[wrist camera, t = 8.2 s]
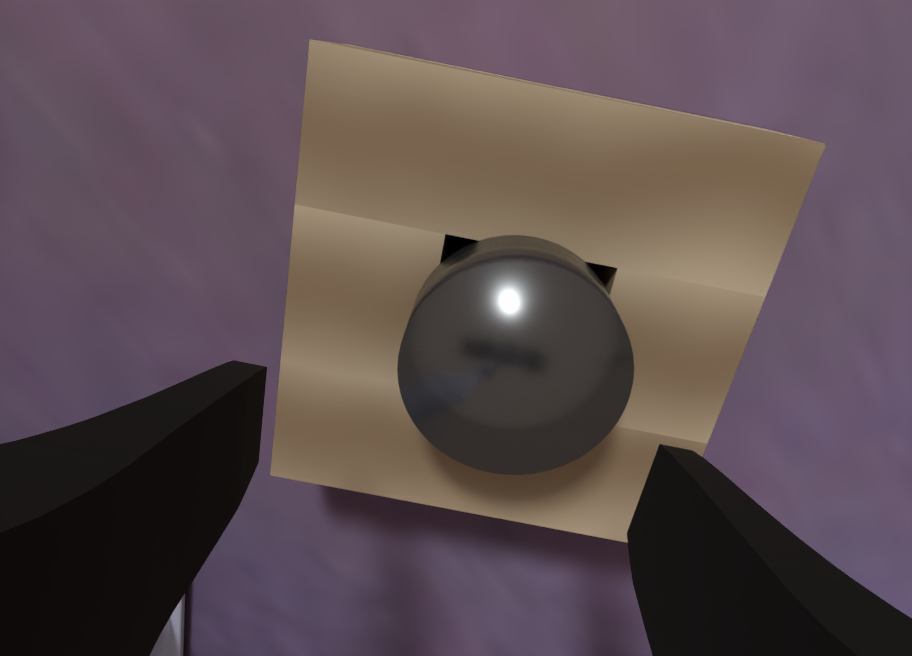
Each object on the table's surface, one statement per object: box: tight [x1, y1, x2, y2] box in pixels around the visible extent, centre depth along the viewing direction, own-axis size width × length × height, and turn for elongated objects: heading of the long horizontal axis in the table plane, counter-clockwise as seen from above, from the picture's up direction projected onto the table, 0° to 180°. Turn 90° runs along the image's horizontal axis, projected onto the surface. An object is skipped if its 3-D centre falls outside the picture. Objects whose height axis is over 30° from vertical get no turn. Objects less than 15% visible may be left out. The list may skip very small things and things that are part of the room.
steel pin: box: [397, 235, 634, 475], centre depth 18 cm, size 5×5×6 cm
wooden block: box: [270, 40, 826, 543], centre depth 19 cm, size 12×12×4 cm
